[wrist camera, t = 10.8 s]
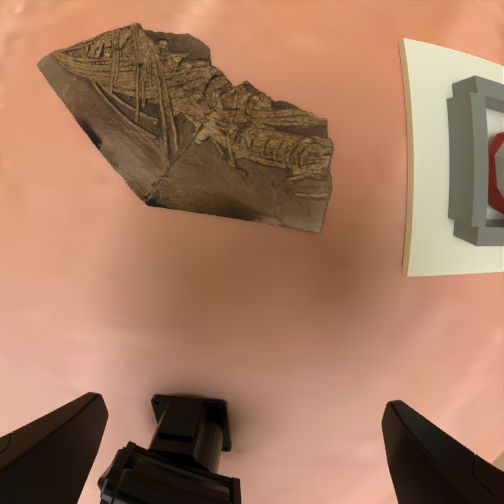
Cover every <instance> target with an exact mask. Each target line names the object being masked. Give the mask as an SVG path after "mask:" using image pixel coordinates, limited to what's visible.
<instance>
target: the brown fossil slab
mask: <svg viewBox="0 0 504 504" xmlns="http://www.w3.org/2000/svg"><path fill="white" fill-rule="evenodd" d="M37 66H38V68H39V69H40V70H41V72H42V73H43V75H44V76H45V77H46V79H47V81H48V82H49V84H50V85H51V86H52V88H53V89H54V91H55V92H56V93H57V95H58V96H59V97H60V98H61V100H62V101H63V103H64V104H65V105H66V107H67V108H68V109H69V111H70V112H71V113H72V115H73V116H74V118H75V119H76V121H77V122H78V124H79V125H80V127H81V128H82V129H83V130H84V132H85V133H86V134H87V135H88V137H89V138H90V140H91V141H92V142H93V144H94V145H95V146H96V147H97V148H98V150H99V151H100V152H101V153H102V155H103V156H104V157H105V158H106V159H107V161H108V162H109V163H110V164H111V165H112V166H113V168H114V169H115V171H116V172H118V173H119V174H120V175H121V177H123V178H124V180H126V182H125V183H126V184H127V185H128V186H129V187H130V188H131V189H132V190H133V191H134V193H135V194H136V195H137V196H138V197H139V198H140V199H141V200H143V201H144V198H146V196H147V195H148V193H151V195H150V196H149V197H148V198H146V199H147V200H146V201H144V202H145V204H146V205H148V206H153V207H163V208H167V209H175V210H182V211H189V212H195V213H202V214H203V213H206V214H209V215H217V216H223V217H229V218H235V219H242V220H246V221H254V222H260V223H266V224H267V223H268V224H269V225H275V224H277V225H279V226H285V227H290V228H295V229H301V230H307V231H313V232H318V233H321V231H322V224H323V221H324V216H325V212H326V208H327V204H328V201H329V198H330V196H331V192H332V177H331V174H330V163H331V157H332V154H333V142H332V141H331V139H329V138H328V135H327V119H326V118H323V119H319V118H317V117H316V116H315V115H314V114H313V113H307V112H306V111H302V110H300V109H299V108H298V107H296V106H295V105H292V104H290V103H288V102H284V101H276V102H275V101H273V100H271V98H270V97H267V96H266V95H265V93H263V92H261V91H259V90H257V89H255V88H254V87H253V86H252V85H251V84H250V83H249V82H248V81H245V82H243V84H240V85H238V86H236V87H234V86H233V85H232V83H231V82H230V81H229V80H227V78H226V76H225V75H224V74H223V72H222V71H220V70H219V69H217V68H216V67H215V66H211V60H210V54H209V48H208V46H206V45H205V44H204V43H203V42H201V41H200V40H199V39H197V38H195V37H193V36H191V35H190V34H188V33H187V34H173V33H163V32H153V31H151V30H144V29H142V28H141V25H140V24H139V23H136V22H135V23H133V24H130V25H128V26H126V27H123V28H118V29H115V30H113V31H107V32H104V33H102V34H100V35H98V36H96V37H94V38H91V39H88V40H84V41H82V42H79V43H77V44H75V45H74V46H71V47H68V48H67V49H59V50H57V51H56V50H55V51H53V52H52V53H50V54H49V55H47V56H45V57H43V58H42V59H41V60H40V61H39V62H38V64H37Z"/></svg>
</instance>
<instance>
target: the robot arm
mask: <svg viewBox="0 0 504 504" xmlns="http://www.w3.org/2000/svg"><path fill="white" fill-rule="evenodd" d="M156 400H157V401H156ZM158 401H159V402H158ZM151 403H152V406H153V410H154V413H155V416H156V420H157V423H158V426H157V428H156V431H155V433H154V435H153V438H152V440H151V443H150V445H149V447H148V450H147V449H145V448H142V447H140V446H138V445H136V443H133V442H131V441H129V443H128V444H127V446H126V448H125V447H123V449H119V450H118V452H117V454H116V456H115V458H114V460H113V462H112V463H111V465H110V466H109V467H108V468H107V470H106V471H105V472H104V473H103V474H102V476H101V477H100V478H99V480H98V483H97V485H98V487H99V489H100V491H101V495H100V497H101V501H100V504H241V490H240V479H238V478H234V477H232V478H230V477H226V476H223V475H219V474H217V471H218V465H219V460H220V454H221V451H224V452H229V451H231V448H232V443H231V435H230V426H229V418H228V409H227V403H226V402H224V401H221V400H204V399H191V398H179V397H169V396H160V395H154V396H153V397H152V399H151ZM220 406H222V407H220ZM107 420H108V410H107V408H106V405H105V402H104V400H103V397H102V395H101V394H99V393H94V392H88V393H86V394H84V395H83V396H81V397H79V398H77V399H75V400H73V401H71V402H69V403H68V404H66V405H64V406H62V407H60V408H58V409H56V410H54V411H52V412H50V413H48V414H46V415H44V416H43V417H41V418H39V419H37V420H35V421H33V422H31V423H29V424H27V425H25V426H23V427H21V428H19V429H17V430H15V431H13V432H12V433H9V434H7V435H4V436H2V437H0V504H77V502H78V500H79V497H80V495H81V492H82V490H83V487H84V485H85V482H86V480H87V477H88V475H89V472H90V470H91V468H92V465H93V463H94V460H95V458H96V455H97V453H98V450H99V447H100V443H101V440H102V436H103V433H104V430H105V426H106V423H107ZM382 431H383V437H384V443H385V449H386V456H387V462H388V467H389V471H390V475H391V478H392V482H393V485H394V489H395V493H396V496H397V500H398V504H504V472H503V471H501V470H500V469H498V468H496V467H495V466H493V465H491V464H490V463H488V462H487V461H485V460H484V459H482V458H481V457H479V456H478V455H477V454H475V453H474V452H472V451H471V450H469V449H468V448H466V447H465V446H464V445H462V444H461V443H459V442H458V441H457V440H455V439H454V438H452V437H451V436H450V435H448V434H447V433H445V432H444V431H443V430H441V429H440V428H438V427H437V426H436V425H434V424H433V423H432V422H430V421H429V420H427V419H426V418H425V417H423V416H422V415H421V414H419V413H418V412H416V411H415V410H414V409H412V408H411V407H410V406H408V405H407V404H406V403H404V402H403V401H401V400H394V401H389V402H388V403H387V405H386V408H385V411H384V415H383V418H382Z"/></svg>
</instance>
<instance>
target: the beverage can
mask: <svg viewBox="0 0 504 504" xmlns="http://www.w3.org/2000/svg"><path fill="white" fill-rule="evenodd" d="M488 160H489V171H488V197H489V200H490V202H491V205H492V208H494V209H496V210H497V211H499V212H500V213H502V214H503V215H504V132H501V133H498V134H497V135H496V137H495V139H494V140H493V142H492V144H491V145H490V147H489V149H488Z"/></svg>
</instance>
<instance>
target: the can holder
mask: <svg viewBox="0 0 504 504" xmlns="http://www.w3.org/2000/svg"><path fill="white" fill-rule="evenodd" d="M398 45H399V51H400V59H401V67H402V75H403V85H404V96H405V108H406V125H407V156H408V184H407V215H406V232H405V245H404V257H403V267H402V272H403V273H404V274H405V275H406V276H407V277H413V276H435V275H454V274H472V273H488V272H503V271H504V215H503V214H502V213H500V212H499V211H497V210H496V209H494V208H492V205H491V202H490V200H489V197H488V171H489V160H488V149H489V147H490V145H491V144H492V142H493V140H494V139H495V137H496V135H497V134H498V133H501V132H504V66H501V65H499V64H496V63H493V62H491V61H488V60H485V59H482V58H479V57H476V56H473V55H469V54H466V53H463V52H459V51H456V50H452V49H449V48H445V47H441V46H437V45H433V44H429V43H424V42H420V41H415V40H410V39H405V38H403V39H402V40H401V41H400V42H399V43H398Z"/></svg>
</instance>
